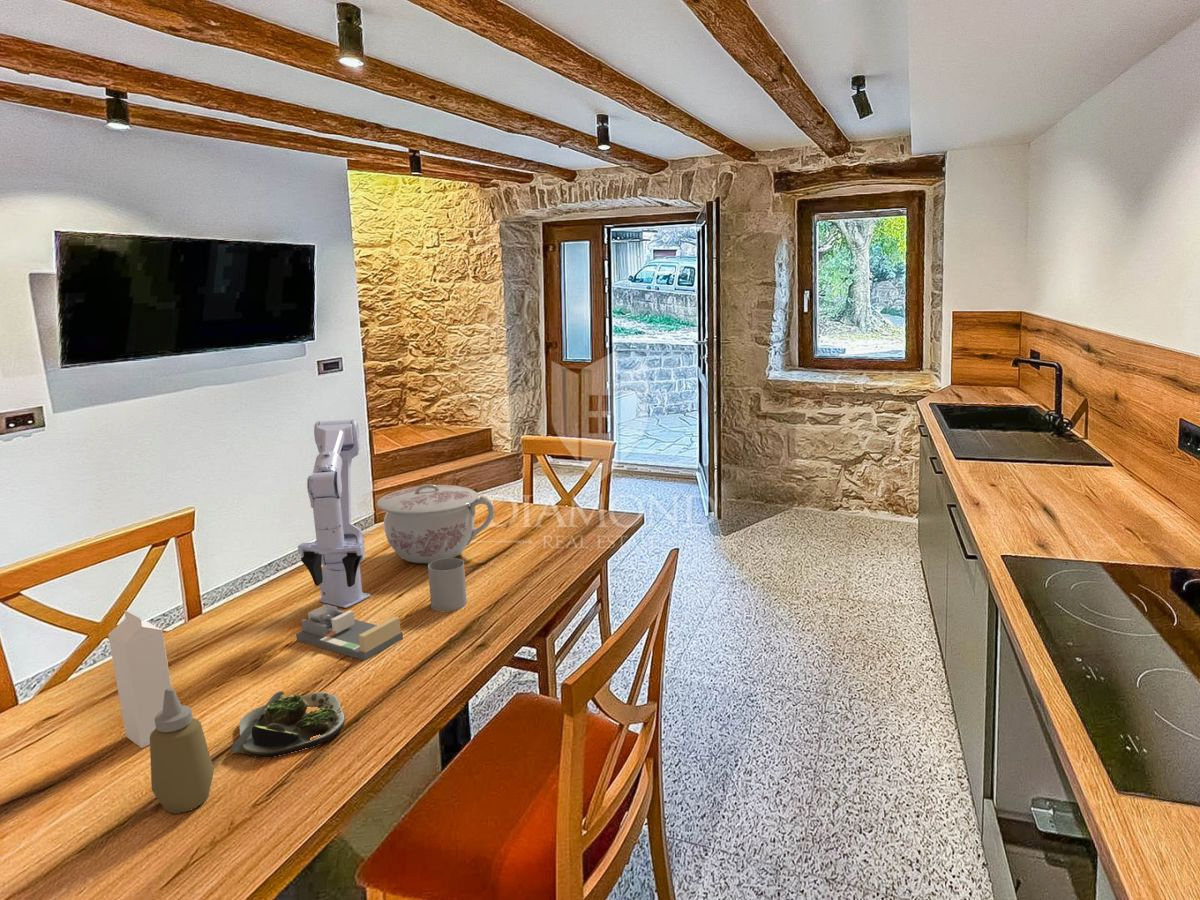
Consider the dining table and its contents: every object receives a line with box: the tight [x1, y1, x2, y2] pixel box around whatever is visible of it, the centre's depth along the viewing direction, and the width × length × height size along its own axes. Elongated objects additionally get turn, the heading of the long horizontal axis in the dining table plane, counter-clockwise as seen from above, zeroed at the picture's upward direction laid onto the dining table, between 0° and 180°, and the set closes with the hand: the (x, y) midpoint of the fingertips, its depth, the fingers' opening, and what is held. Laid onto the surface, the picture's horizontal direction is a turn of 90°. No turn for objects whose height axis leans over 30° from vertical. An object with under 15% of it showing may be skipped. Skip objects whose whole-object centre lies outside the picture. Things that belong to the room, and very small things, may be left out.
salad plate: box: [230, 691, 346, 758], centre depth 131 cm, size 19×18×5 cm
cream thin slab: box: [326, 609, 355, 637], centre depth 162 cm, size 1×7×3 cm, turn 151°
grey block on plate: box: [307, 603, 339, 628], centre depth 165 cm, size 6×5×4 cm
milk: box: [107, 610, 172, 749], centre depth 127 cm, size 6×6×22 cm
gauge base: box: [295, 609, 404, 662], centre depth 163 cm, size 20×11×5 cm, turn 61°
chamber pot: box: [376, 483, 495, 565], centre depth 211 cm, size 28×28×21 cm
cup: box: [427, 557, 468, 612], centre depth 179 cm, size 8×8×10 cm
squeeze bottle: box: [149, 687, 215, 814], centre depth 110 cm, size 8×8×18 cm
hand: (335, 584), depth 168 cm, fingers open, 7 cm apart
